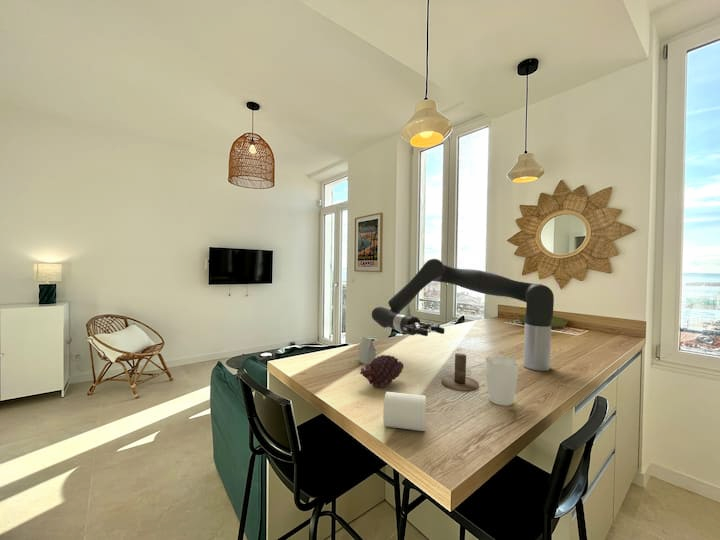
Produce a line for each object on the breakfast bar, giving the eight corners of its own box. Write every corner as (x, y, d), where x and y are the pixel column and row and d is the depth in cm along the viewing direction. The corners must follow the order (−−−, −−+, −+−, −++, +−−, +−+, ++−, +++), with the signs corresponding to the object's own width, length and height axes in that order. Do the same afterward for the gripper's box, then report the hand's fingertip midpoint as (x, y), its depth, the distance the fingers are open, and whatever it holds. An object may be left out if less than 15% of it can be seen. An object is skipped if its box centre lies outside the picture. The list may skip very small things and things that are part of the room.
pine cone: (393, 375, 113) (394, 347, 112) (413, 384, 105) (414, 354, 104) (353, 386, 102) (354, 355, 102) (372, 396, 94) (373, 364, 94)
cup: (479, 394, 98) (481, 356, 97) (509, 395, 97) (510, 356, 97) (491, 407, 89) (492, 365, 88) (523, 408, 88) (524, 366, 88)
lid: (457, 375, 114) (458, 348, 114) (486, 386, 104) (487, 357, 104) (434, 381, 108) (434, 352, 107) (462, 394, 97) (463, 363, 97)
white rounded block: (425, 438, 73) (426, 404, 72) (382, 432, 75) (383, 399, 74) (425, 413, 84) (425, 384, 84) (388, 409, 86) (389, 381, 86)
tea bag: (367, 366, 122) (367, 340, 122) (358, 361, 128) (359, 336, 128) (375, 364, 124) (375, 339, 124) (366, 359, 130) (366, 336, 130)
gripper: (393, 316, 124) (422, 323, 111) (419, 313, 132) (449, 320, 119) (392, 334, 125) (421, 344, 111) (418, 331, 132) (448, 340, 119)
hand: (435, 332), depth 115 cm, fingers open, 8 cm apart
